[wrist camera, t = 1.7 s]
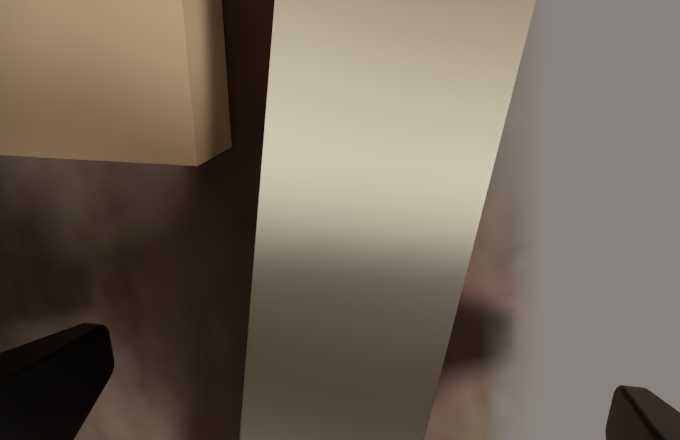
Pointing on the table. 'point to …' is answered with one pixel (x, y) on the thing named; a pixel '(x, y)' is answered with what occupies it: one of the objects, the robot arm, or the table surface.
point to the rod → (370, 207)
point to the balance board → (114, 80)
